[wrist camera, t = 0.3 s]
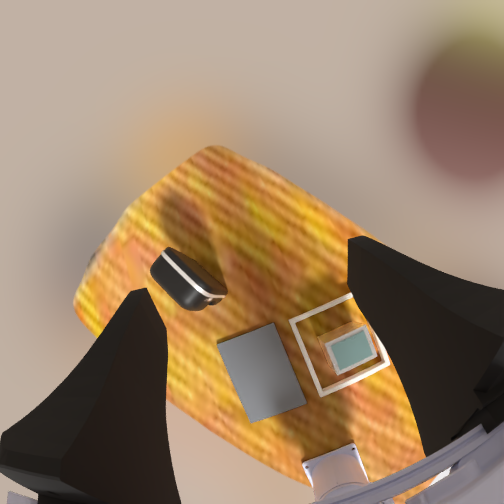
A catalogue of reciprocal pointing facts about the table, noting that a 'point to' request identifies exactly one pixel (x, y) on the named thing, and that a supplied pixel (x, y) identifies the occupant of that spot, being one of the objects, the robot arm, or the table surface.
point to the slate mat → (261, 373)
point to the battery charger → (186, 281)
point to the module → (347, 347)
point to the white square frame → (351, 379)
